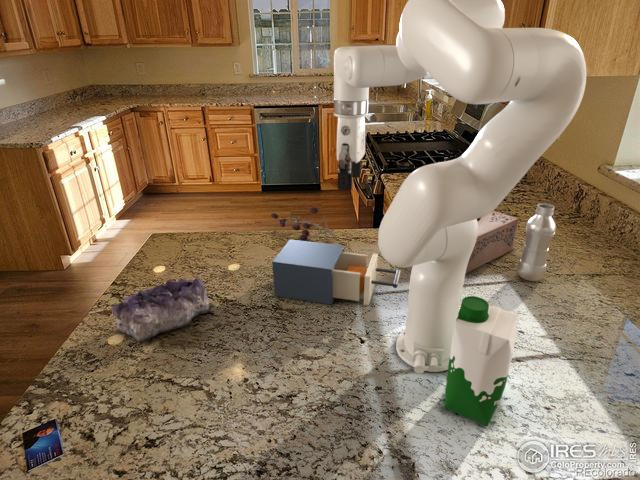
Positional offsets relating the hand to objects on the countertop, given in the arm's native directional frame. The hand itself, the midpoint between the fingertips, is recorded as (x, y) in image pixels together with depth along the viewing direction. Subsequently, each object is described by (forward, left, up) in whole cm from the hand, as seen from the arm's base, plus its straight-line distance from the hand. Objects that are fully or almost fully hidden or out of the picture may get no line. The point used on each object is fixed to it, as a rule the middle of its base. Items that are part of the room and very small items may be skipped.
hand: (349, 183), depth 100 cm
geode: (-29, +35, -26) cm, 52 cm away
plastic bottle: (+12, -46, -26) cm, 54 cm away
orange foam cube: (-7, -4, -24) cm, 25 cm away
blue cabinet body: (-7, +8, -26) cm, 28 cm away
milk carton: (-36, -30, -26) cm, 53 cm away
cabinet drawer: (-7, -4, -25) cm, 26 cm away
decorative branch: (+24, +20, -26) cm, 41 cm away
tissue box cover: (+22, -30, -26) cm, 46 cm away
